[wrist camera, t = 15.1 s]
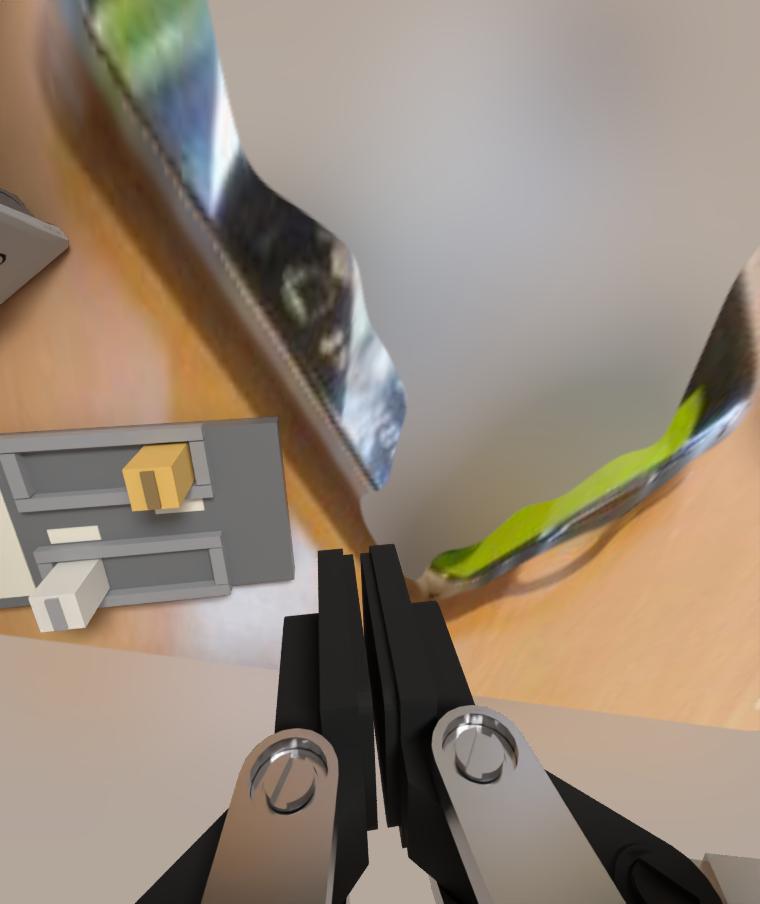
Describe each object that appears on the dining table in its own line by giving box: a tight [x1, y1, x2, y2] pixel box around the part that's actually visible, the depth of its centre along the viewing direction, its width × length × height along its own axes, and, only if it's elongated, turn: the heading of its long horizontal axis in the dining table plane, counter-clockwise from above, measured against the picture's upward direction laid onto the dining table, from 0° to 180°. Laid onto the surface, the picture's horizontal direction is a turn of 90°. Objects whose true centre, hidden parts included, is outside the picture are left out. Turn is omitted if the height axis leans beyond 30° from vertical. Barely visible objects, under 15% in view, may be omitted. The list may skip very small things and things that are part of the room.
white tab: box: [28, 558, 110, 632], centre depth 35 cm, size 3×3×5 cm
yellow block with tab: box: [122, 442, 195, 511], centre depth 33 cm, size 3×3×5 cm
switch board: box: [0, 417, 295, 608], centre depth 37 cm, size 15×24×2 cm, turn 91°
